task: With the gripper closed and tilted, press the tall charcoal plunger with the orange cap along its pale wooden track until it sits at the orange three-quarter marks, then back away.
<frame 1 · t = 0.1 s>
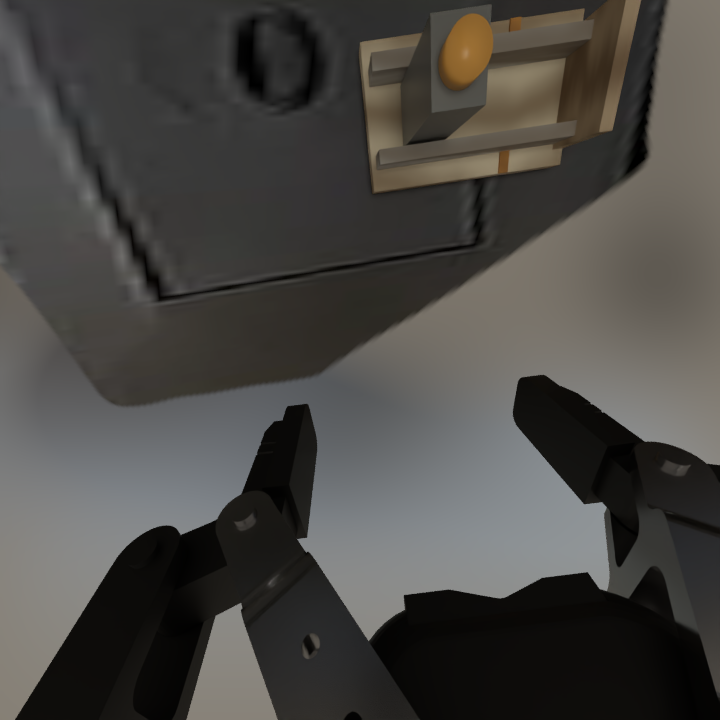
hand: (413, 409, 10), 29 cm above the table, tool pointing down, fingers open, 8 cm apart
track: (461, 116, 30), on the table
plunger: (440, 89, 22), point 8 cm above the table, slide at 0.0 cm
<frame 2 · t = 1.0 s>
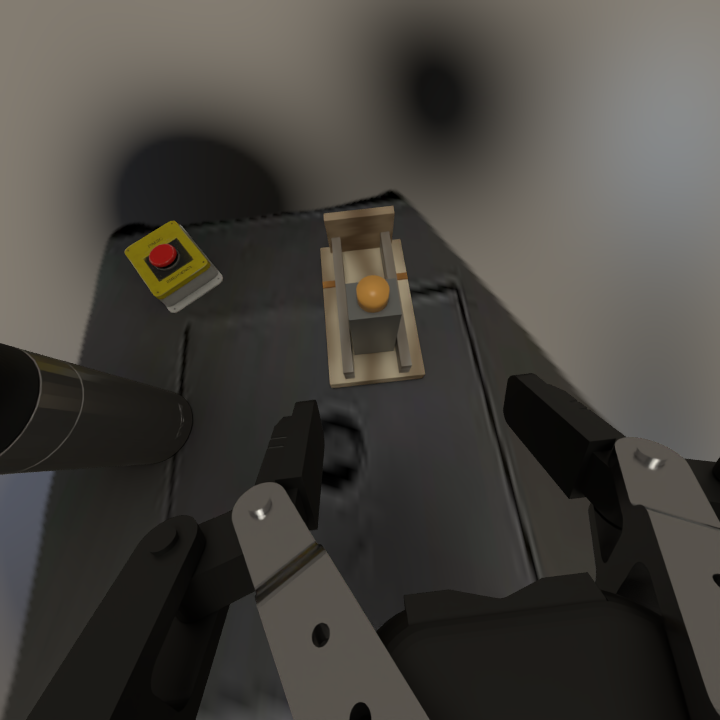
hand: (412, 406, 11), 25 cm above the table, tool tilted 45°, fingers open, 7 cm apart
track: (368, 312, 39), on the table
emergency button: (179, 269, 44), on the table
plunger: (372, 318, 30), point 8 cm above the table, slide at 0.0 cm
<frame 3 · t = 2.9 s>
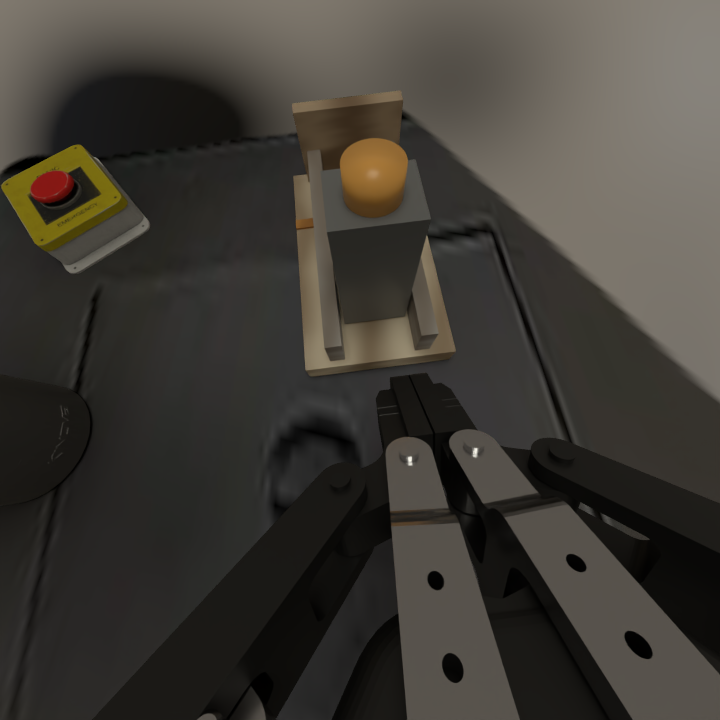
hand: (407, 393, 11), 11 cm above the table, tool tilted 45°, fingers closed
track: (364, 266, 27), on the table
emergency button: (91, 216, 31), on the table
plunger: (372, 251, 18), point 8 cm above the table, slide at 0.0 cm
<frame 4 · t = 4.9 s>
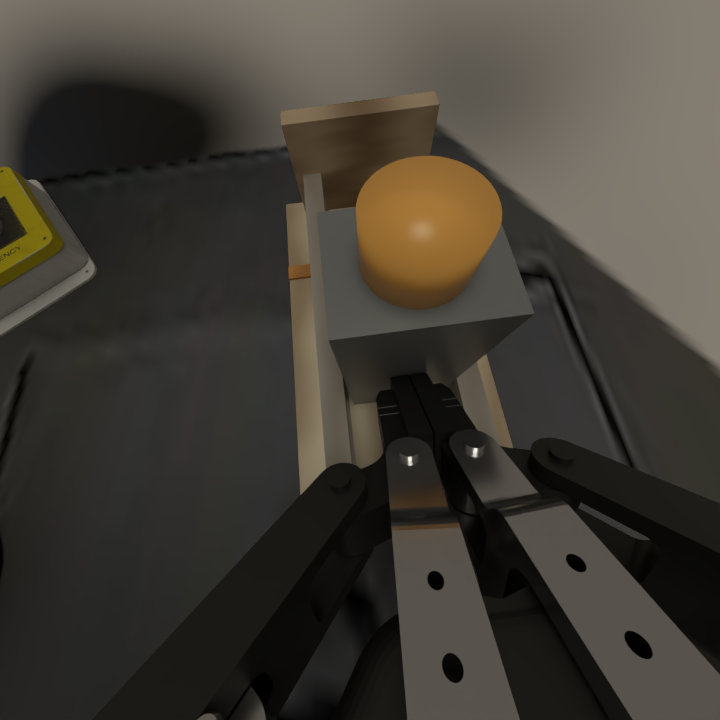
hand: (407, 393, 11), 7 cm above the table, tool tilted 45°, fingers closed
track: (380, 326, 20), on the table
emergency button: (26, 256, 24), on the table
plunger: (400, 326, 11), point 8 cm above the table, slide at 1.2 cm, touching gripper
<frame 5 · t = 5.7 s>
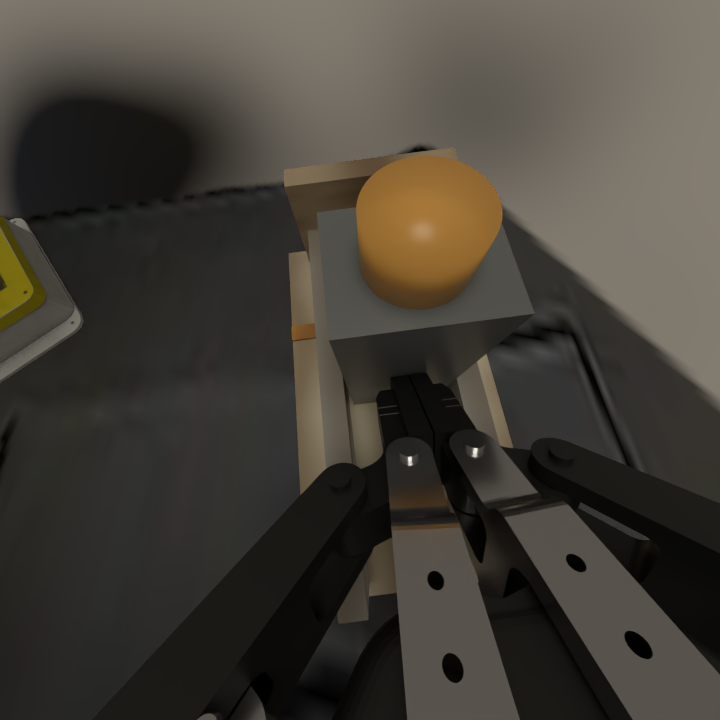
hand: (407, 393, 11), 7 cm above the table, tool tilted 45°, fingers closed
track: (390, 388, 18), on the table
emergency button: (9, 302, 23), on the table
plunger: (400, 326, 11), point 8 cm above the table, slide at 5.9 cm, touching gripper
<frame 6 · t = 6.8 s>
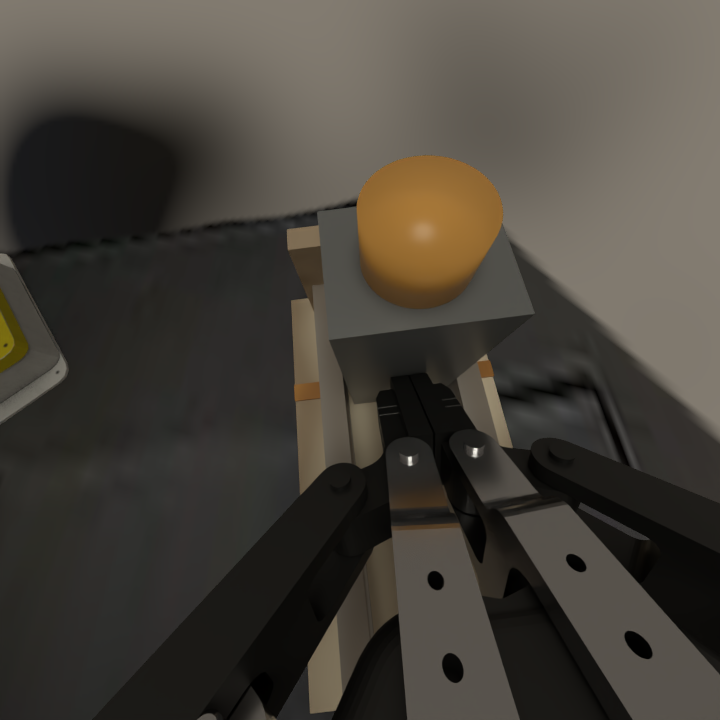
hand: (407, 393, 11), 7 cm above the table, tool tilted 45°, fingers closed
track: (400, 449, 17), on the table
plunger: (400, 326, 11), point 8 cm above the table, slide at 9.9 cm, touching gripper
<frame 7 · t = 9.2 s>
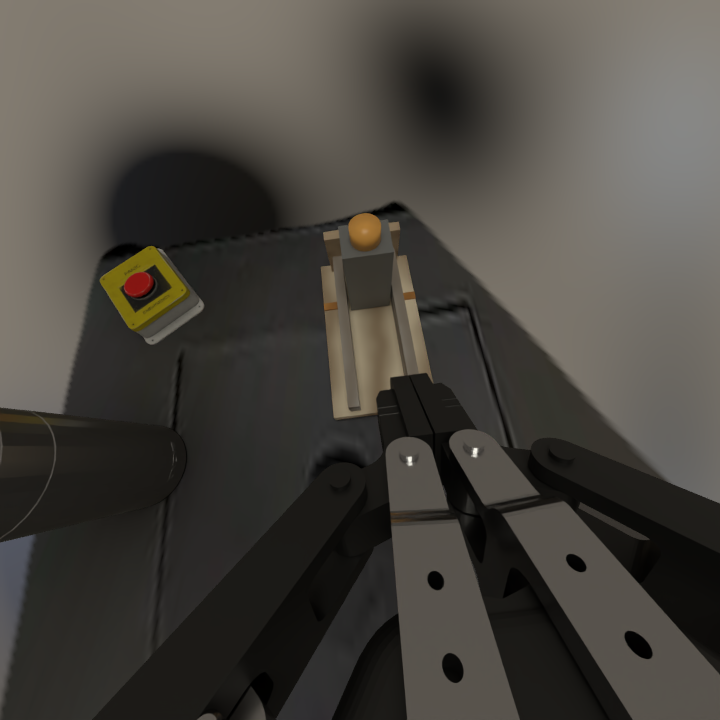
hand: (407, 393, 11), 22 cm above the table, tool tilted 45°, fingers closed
track: (373, 335, 36), on the table
emergency button: (159, 296, 41), on the table
plunger: (366, 266, 30), point 8 cm above the table, slide at 9.9 cm
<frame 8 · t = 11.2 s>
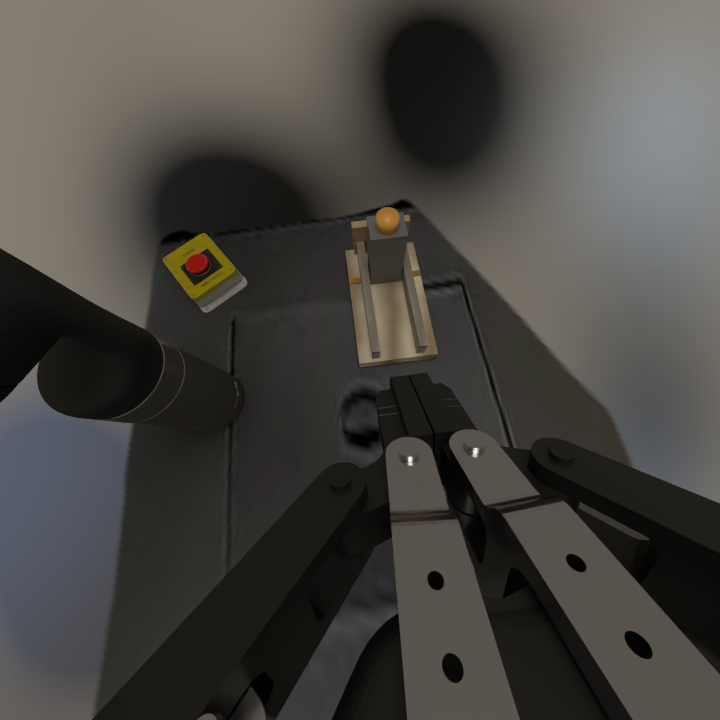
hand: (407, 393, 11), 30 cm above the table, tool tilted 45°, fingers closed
track: (387, 304, 46), on the table
emergency button: (208, 275, 51), on the table
plunger: (385, 248, 40), point 8 cm above the table, slide at 9.9 cm
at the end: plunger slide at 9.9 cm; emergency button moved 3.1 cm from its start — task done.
